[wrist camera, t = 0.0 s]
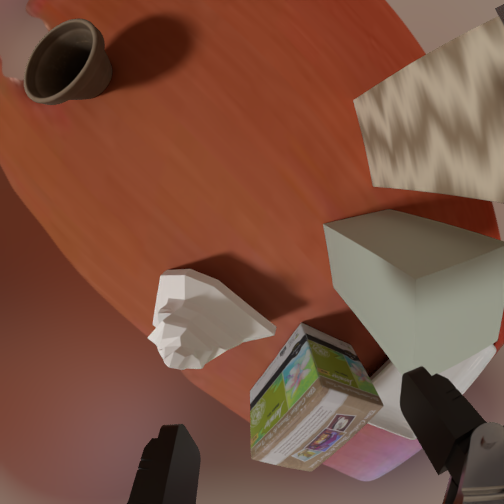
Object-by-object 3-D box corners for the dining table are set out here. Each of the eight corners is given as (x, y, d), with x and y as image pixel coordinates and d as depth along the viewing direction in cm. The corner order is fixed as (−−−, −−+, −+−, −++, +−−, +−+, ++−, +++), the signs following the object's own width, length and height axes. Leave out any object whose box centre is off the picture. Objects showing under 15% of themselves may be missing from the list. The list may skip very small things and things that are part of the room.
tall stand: (353, 100, 33) (549, -5, 2) (411, 97, 33) (595, 42, 2) (372, 186, 36) (606, 229, 5) (428, 176, 35) (627, 204, 4)
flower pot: (50, 99, 31) (9, 86, 21) (91, 37, 29) (59, 11, 19) (96, 128, 33) (56, 116, 23) (143, 60, 31) (116, 29, 21)
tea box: (298, 319, 40) (323, 385, 26) (351, 343, 41) (388, 405, 27) (247, 390, 43) (249, 461, 29) (298, 408, 44) (313, 474, 30)
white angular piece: (221, 357, 43) (189, 427, 30) (148, 292, 41) (92, 348, 28) (279, 316, 38) (258, 395, 25) (195, 237, 36) (134, 289, 23)
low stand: (323, 223, 37) (415, 279, 15) (389, 209, 37) (509, 243, 15) (333, 287, 39) (410, 386, 18) (395, 269, 39) (497, 340, 17)
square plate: (437, 280, 40) (450, 288, 36) (488, 343, 44) (498, 351, 41) (332, 399, 45) (338, 414, 41) (408, 431, 49) (414, 442, 45)
